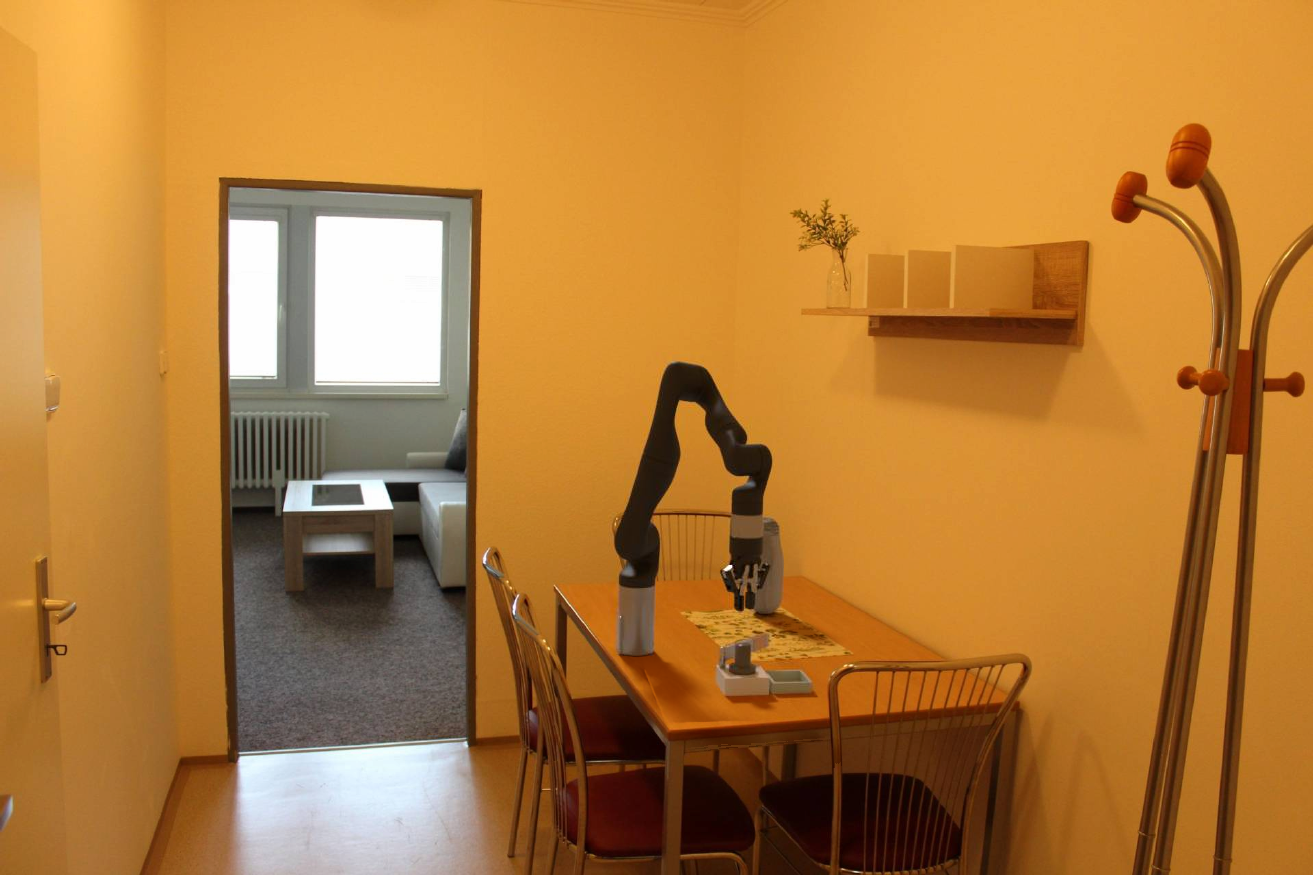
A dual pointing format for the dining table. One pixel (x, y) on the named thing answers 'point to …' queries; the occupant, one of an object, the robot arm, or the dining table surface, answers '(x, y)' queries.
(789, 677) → the tray
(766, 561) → the grey bottle
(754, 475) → the robot arm
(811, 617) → the dining table surface
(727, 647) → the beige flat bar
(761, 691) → the socket block
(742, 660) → the plug
